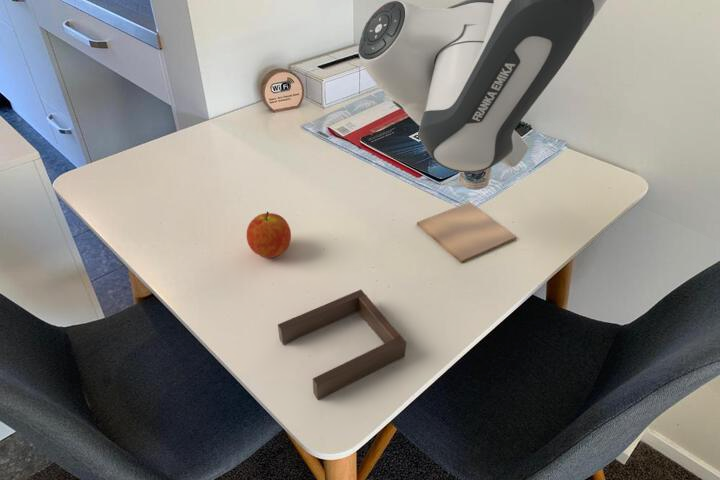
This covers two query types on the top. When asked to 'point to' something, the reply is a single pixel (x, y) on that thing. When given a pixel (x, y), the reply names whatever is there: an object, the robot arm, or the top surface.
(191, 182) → the top surface
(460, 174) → the beer can
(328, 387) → the can rack
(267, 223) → the fruit
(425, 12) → the robot arm
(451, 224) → the cork mat
